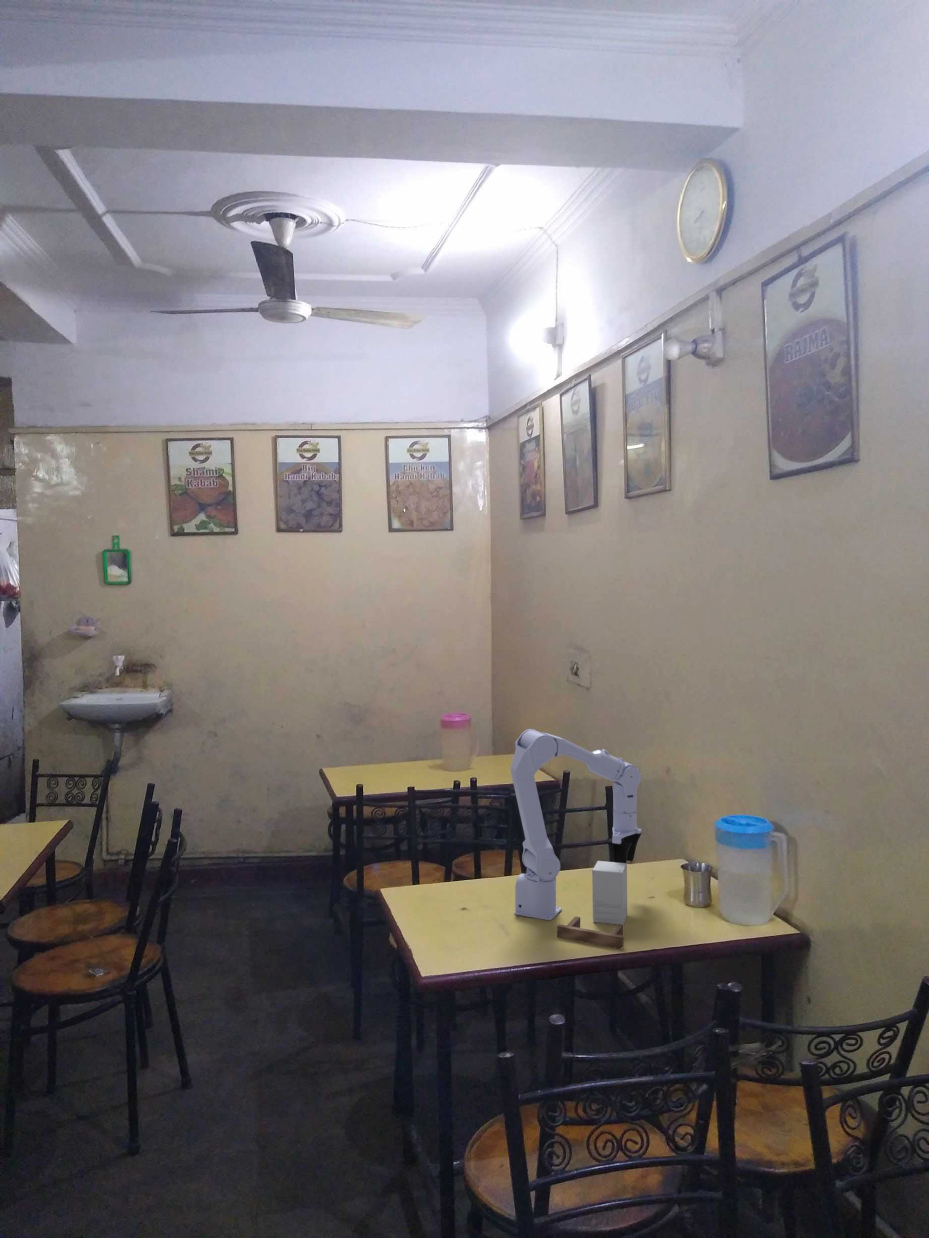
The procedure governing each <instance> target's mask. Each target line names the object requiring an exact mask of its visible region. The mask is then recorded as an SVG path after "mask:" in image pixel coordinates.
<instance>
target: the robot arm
mask: <svg viewBox="0 0 929 1238" xmlns="http://www.w3.org/2000/svg"><path fill="white" fill-rule="evenodd" d="M563 755H564V756H566V757H570V758H571V759H574V760H576V761H579V762H580V763H584V764H586V767H587V769H588V771H589V772H591V773H592V774H595V775H597V776H600V777H602V778H604V779H606V780H609V781H611V782H613V785H612V786H613V794H612V795H613V797H612V798H613V799H612V800H613V801H612V803H613V807H612V811H613V812H612V815H613V817H612V818H613V819H612V820H613V823H612V825H613V826H612V838H608V840H607V844H608V845H607V846H608V847H609V849H610V850H611V853H612V857H613V860H614V861H613V862H616V863H627V862H628V861H630V862H634V857H635V853H636V851H637V845H638V843H639V839H640V838H641V835H642V828H638V825H637V815H638V814H637V810H638V809H637V807H638V806H637V805H638V804H637V803H638V797H637V796H638V795H637V794H638V793H637V792H638V787H639V785H640V783H641V781H642V777H643V775H641V773H640V770H639V769H638V767H637V766H636V765H634V764H631V763H629V762H626V761H625V758H622V757H616V756H613V755H611V754H610V752H609V750H606V749H604V748H603V749H601V750H600V749H596V750H593V751H589V750H588V749H586V748H584V747H582V746H580V745H577V744H575V743H573V742H572V741H569V740H567V739H565V738H562V737H560V736H557V735H554V734H550V733H548V732H543V731H541V732H540V731H538V730H536V729H534V728H528V729H525V730H524V731H522V732H521V734H520V735H519V737H517V739H516V741H515V751H514V754H513V758H512V761H511V762H512V763H511V766H510V774H511V779H512V783H513V788H514V794H515V797H516V801H517V806H518V811H519V816H520V820H521V824H522V829H523V834H524V838H525V839H524V840H523V842H522V847H523V852H522V856H521V857H522V859H521V860H522V863H523V865H524V866H525V867H526V872H525V873H520V874H519V875H518V877H517V879H516V881H515V890H514V891H515V894H514V896H515V897H514V898H515V899H514V901H515V902H514V903H515V905H514V907H515V908H514V909H515V911H513V914H514V915H517V916H522V917H528V918H533V919H540V920H546V921H552V920H553V919H554V918H555V917H556V916H557V915H558V914H559V913H560V912H561V911H562V910H563V908H562V907H561V906H557V876H558V875H559V873H560V871H561V861H560V859H559V858H558V856H556V854H555V851H554V848H553V845H552V843H551V842H550V840H549V838H548V835H547V830H546V826H545V825H546V824H545V820H544V815H543V811H542V807H541V802H540V797H539V793H538V788H537V783H536V779H535V775H536V773H537V772H538V771H539V770H540V769H541V768H542V767H543V766H545V764H547V763H548V762H549V761H551V760H552V759H553V758H554V757H556V758H559V757H561V756H563Z"/></svg>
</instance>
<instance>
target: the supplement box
mask: <svg viewBox="0 0 929 1238" xmlns="http://www.w3.org/2000/svg"><path fill="white" fill-rule="evenodd" d="M591 872H592V874H591V875H592V876H591V877H592V922H593V923H600V924H608V925H609V924H611V925H616V926H617V925H618V924H622V925H623V926H624V924H625V921H626V919H627V916H628V864H627V862H626V863H616V862H615V861H605V860H604V861H603V860H597V861H596V863H595V865H594V867H593V868H592V870H591Z"/></svg>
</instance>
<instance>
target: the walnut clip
mask: <svg viewBox="0 0 929 1238" xmlns="http://www.w3.org/2000/svg"><path fill="white" fill-rule="evenodd" d="M556 938H560V939H567V940H571V941H577V942H582V941H583V943H587V942H588V944H592V943H593V944H594V945H598V946H603V945H604V947H608V946H609V948H614V947H616V948H615V949H619V948H622V947H623V948H624V924H623V925H622V924H618V925H617V924H616V926H614V928H613V929H612V931H610V932H606V931H599V930H594V929H588V928H582V927H581V917H580V916H574V917H573V918H572V919H571V920H570V921H569V922H568V923H567V924H560V923H559V924H557V925H556ZM623 948H622V949H623Z"/></svg>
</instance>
